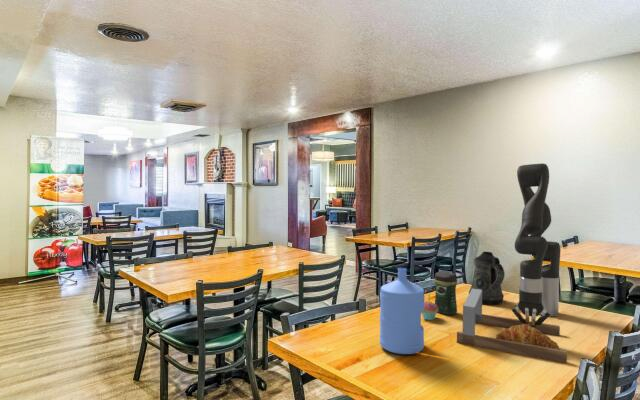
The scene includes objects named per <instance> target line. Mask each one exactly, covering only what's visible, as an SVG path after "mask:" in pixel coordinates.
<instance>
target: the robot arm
mask: <svg viewBox="0 0 640 400" xmlns="http://www.w3.org/2000/svg"><path fill="white" fill-rule="evenodd" d="M549 169H550V168H549V166H548V164H547V163H533V164H532V163H531V164H523V165H522V164H521V165H519V166H518V167H517V170H516V177H517V182H518V185H519V188H520V193H521V195H522V199H523V204H524V207H523V209H522V214H521V225H520V228H519V231H518V234H517V236H516V238H515V241H514V250H515V251H516V252H517V253H518V254H519V255H531V256H532V257H533V258H532V259H527V260H525V259H524V260H522V261H520V263H519V282H518V293H519V294H518V296H519V297H518V303H517V305H515V306H513V307H512V308H511V311H512V313H513V314H514V316H515V317H516V319H518V320H520V322H521V323H525V324H527V325H528V324H529V325H530V326H531V327H533V328H535V326H536V325H541V324H542V323H544V322H545V321H546V320H547V319H548V318H550V317H558V316H559V308H560V307H559V304H560V303H559V301H560V298H559V297H560V294H559V292H560V265H561V263H560V260H561V245H560V242H557V241H548V240H547V239H546V238H545V237H544V236H543V234H544V233H545V232H546V231H547V230H548V228H550V226H551V223H552V215H551V213H552V212H551V210H550V207H549V205H548V204H547V203H546V199H547V193H548V189H549V185H550V184H549V183H550V170H549ZM532 187H536V188H537V189H536V191H535V192H534V190H533V189H532ZM543 262H546V263H547V262H549V263H550V264H549V265H547V266H543ZM520 311H521V312H522V314H523V315H524V316H525V318H524V317H523V316H522V314H521V313H520ZM539 315H541V316H539ZM538 316H539V318H538V319H537V317H538ZM530 317H531V319H530ZM536 319H537V320H536ZM530 321H531V324H530Z"/></svg>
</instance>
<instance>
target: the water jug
mask: <svg viewBox="0 0 640 400" xmlns="http://www.w3.org/2000/svg"><path fill="white" fill-rule="evenodd" d="M407 271H408V269H407V268H406V267H399V268H398V267H397V279H395V280H392V281H390V282H388V283H386V284H383V285H382V286H380V292H379V300H380V306H379V307H380V312H379V313H380V314H379V322H380V323H379V345H380V346H381V347H382V348H383V349H385V350H386V351H388V352H391V353H393V354H398V355H413V354H417V353H420V352H421V351H423V349H424V348H425V347H424V346H425V340H424V339H425V338H424V337H425V335H424V334H425V333H424V332H425V331H424V330H425V329H424V326H423V325H422V322H421V321H422V313H421V312H422V311H423V310H424V302H425V298H426V297H425V289H424V288H423V287H421V286H419V285H417V284H416V283H414V282H411V281H410V280H408V279H407V278H408V277H407V276H408V273H407Z"/></svg>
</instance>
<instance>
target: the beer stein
mask: <svg viewBox="0 0 640 400" xmlns="http://www.w3.org/2000/svg"><path fill="white" fill-rule="evenodd" d="M500 263H501V261H500V258H498V257H496V256H495V255H494V254H493V252H491V251H482V252H481V254H479V255H478V256H476V257H475V258H474V259H473V264H474V270H473V275H472V282H471V285H470V287H469V290H468V295H469V294H470V292H471V290H472V289H480V290H482V305H487V306H488V305H489V306H490V305H491V306H497V305H502V304H503V301H504V295H505V294H504V293H503V291H502V290H503V289H502V286H501V285H502V284H503V281H504V279H505V269H504V267H503V265H502V264H500Z"/></svg>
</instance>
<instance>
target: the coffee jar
mask: <svg viewBox="0 0 640 400" xmlns="http://www.w3.org/2000/svg"><path fill="white" fill-rule="evenodd" d="M434 284H435V297H434V298H435V299H434V304H436V305H437V306H438V309H439V311H438V312H437V313H438V314H442V315H446V316H451V315H452V316H453V315H456V314H457V313H458V308H457V307H458V305H457V292H456V288H457V284H458V278H457V274H456V273H452V272H446V271H437V272H436V273H435V275H434Z"/></svg>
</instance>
